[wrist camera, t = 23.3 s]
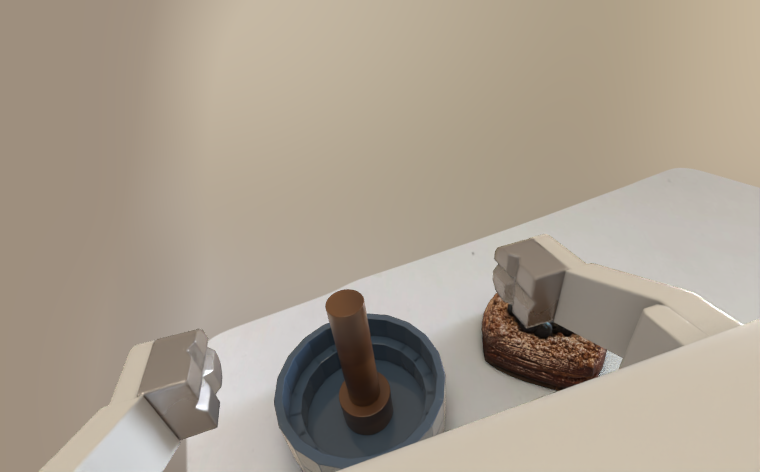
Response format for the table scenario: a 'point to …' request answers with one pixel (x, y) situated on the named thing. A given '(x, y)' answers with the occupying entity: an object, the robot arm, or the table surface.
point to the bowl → (322, 406)
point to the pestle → (358, 365)
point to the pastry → (538, 349)
